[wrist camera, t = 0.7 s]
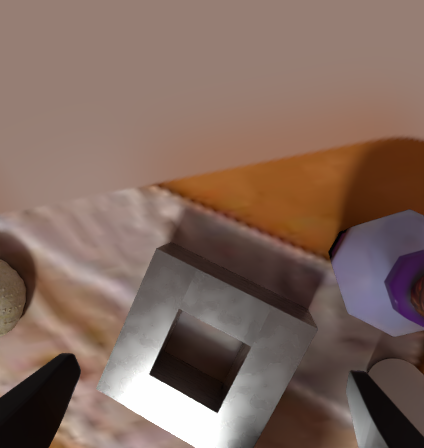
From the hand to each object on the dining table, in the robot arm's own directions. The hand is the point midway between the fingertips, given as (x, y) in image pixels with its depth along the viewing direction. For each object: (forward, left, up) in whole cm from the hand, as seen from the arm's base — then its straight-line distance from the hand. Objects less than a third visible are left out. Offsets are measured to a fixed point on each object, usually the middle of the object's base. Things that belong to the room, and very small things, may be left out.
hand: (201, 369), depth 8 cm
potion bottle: (+5, -10, -18) cm, 21 cm away
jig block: (-9, -1, -18) cm, 20 cm away
